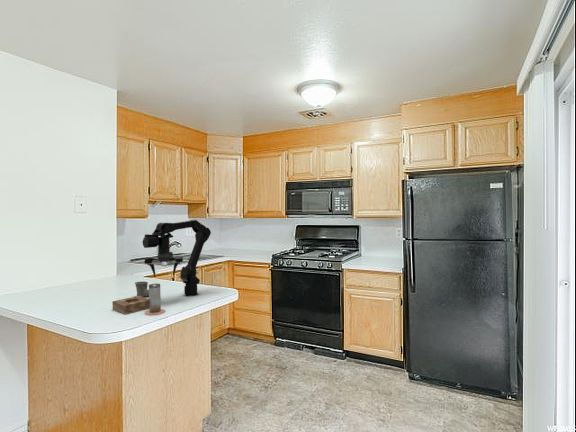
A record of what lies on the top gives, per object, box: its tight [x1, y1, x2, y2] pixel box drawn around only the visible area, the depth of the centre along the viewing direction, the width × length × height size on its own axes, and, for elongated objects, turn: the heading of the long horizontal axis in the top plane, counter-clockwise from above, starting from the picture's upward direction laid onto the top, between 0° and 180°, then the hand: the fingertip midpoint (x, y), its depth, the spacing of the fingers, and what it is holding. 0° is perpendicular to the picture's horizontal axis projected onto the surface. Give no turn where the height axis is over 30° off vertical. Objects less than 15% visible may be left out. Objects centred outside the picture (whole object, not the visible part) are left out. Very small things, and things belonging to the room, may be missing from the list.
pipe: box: [134, 281, 149, 298], centre depth 191 cm, size 6×13×8 cm, turn 77°
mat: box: [144, 308, 166, 316], centre depth 160 cm, size 9×9×1 cm
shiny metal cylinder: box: [148, 283, 162, 313], centre depth 160 cm, size 5×5×12 cm
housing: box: [112, 295, 149, 315], centre depth 167 cm, size 13×13×4 cm
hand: (164, 275), depth 181 cm, fingers open, 9 cm apart
